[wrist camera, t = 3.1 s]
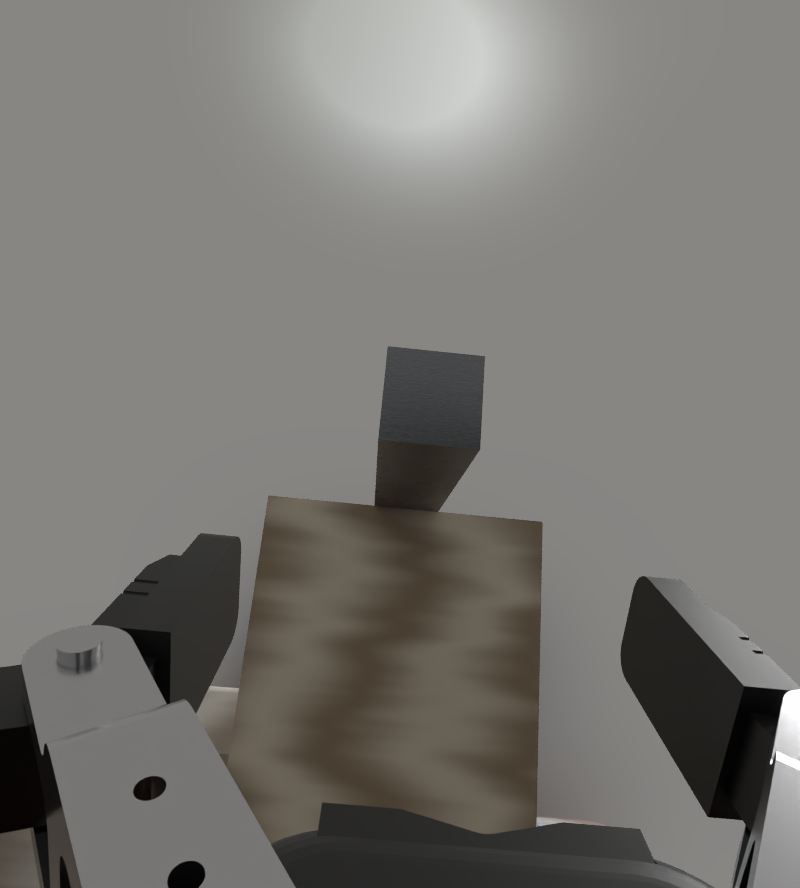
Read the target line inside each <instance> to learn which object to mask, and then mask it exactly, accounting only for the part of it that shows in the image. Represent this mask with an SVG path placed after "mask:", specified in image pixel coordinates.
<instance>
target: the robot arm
mask: <svg viewBox="0 0 800 888" xmlns="http://www.w3.org/2000/svg"><path fill="white" fill-rule="evenodd" d="M240 562H241V542H240V539H239V537H235V536H225V535H213V534H204V533H201V534H200V535H198V537H197V538H196V539H195V540H194V541H193V542H192V544H191V545H190V546H189V547H188V548H187V550H186V551H185V552H184V553H183V554H182V555H181V556H177V555H168V556H166V557H164V558H162V559H160V560H158V561H156V562H154V563H152V564H149V565H148V566H147V567H146V568H145V569H144V570H143V571H142V572H141V573H140V574H139V575H138V576H137V577H136V578H135V580H134V582H131V583H130V584H129V586H128V587H127V588H126V589H125V590H124V592H123V594H120V595H119V596H118V597H117V598H116V599H115V600H114V601H113V603H112V604H111V605H110V606H109V607H108V608H107V609H106V610H105V611H104V612H103V613H102V614H101V615H100V616H99V617H98V618H97V619H96V621H95V622H94V623H93V624H92V625H87V626H79V627H73V628H69V629H65V630H61V631H59V632H56V633H53V634H51V635H49V636H46V637H45V638H43V639H41V640H39V641H38V642H36V643H35V644H34V645H33V646H31V647H30V648H29V649H28V650H27V651H26V653H25V654H24V656H23V658H22V664H21V665H16V666H9V667H1V668H0V834H1V833H7V832H12V831H17V830H23V829H28V828H30V829H31V839H32V844H33V850H34V856H35V862H36V867H37V873H38V879H39V885H40V888H714V887H712V886H711V885H709V884H707V883H706V882H704V881H702V880H700V879H698V878H696V877H694V876H693V875H690V874H689V873H686V872H685V871H683V870H680V869H678V868H675V867H673V866H671V865H668V864H666V863H663V862H661V861H657V860H654V859H653V857H652V855H651V852H650V850H649V848H648V846H647V844H646V841H645V839H644V837H643V835H642V833H641V831H640V829H632V828H621V827H609V826H597V825H585V824H573V823H557V824H551V825H545V826H538V827H532V828H526V829H520V830H513V831H507V832H501V833H495V834H482V833H477V832H474V831H471V830H467V829H464V828H461V827H458V826H454V825H451V824H448V823H445V822H442V821H438V820H435V819H432V818H429V817H425V816H422V815H419V814H416V813H412V812H409V811H406V810H403V809H395V808H384V807H372V806H360V805H348V804H336V803H324V802H322V807H321V813H320V820H319V826H318V830H315V831H310V832H304V833H300V834H297V835H293V836H290V837H286V838H283V839H281V840H278V841H276V842H273V843H271V844H270V842H269V840H268V839H267V837H266V835H265V833H264V832H263V830H262V828H261V826H260V825H259V823H258V821H257V820H256V818H255V816H254V814H253V813H252V811H251V809H250V807H249V806H248V804H247V802H246V800H245V799H244V797H243V795H242V793H241V792H240V790H239V788H238V786H237V785H236V783H235V781H234V779H233V778H232V776H231V774H230V773H229V771H228V769H227V767H226V766H225V764H224V762H223V760H222V759H221V757H220V755H219V753H218V752H217V750H216V748H215V746H214V745H213V743H212V741H211V739H210V738H209V736H208V734H207V732H206V731H205V729H204V727H203V725H202V724H201V722H200V720H199V719H198V717H197V715H196V713H197V711H198V709H199V707H200V705H201V703H202V701H203V699H204V697H205V695H206V693H207V691H208V689H209V687H210V684H211V683H212V680H213V678H214V676H215V674H216V672H217V670H218V668H219V666H220V664H221V662H222V660H223V658H224V656H225V654H226V652H227V650H228V648H229V645H230V644H231V641H232V639H233V636H234V633H235V629H236V623H237V618H238V608H239V585H240V583H239V582H240ZM621 666H622V671H623V674H624V677H625V679H626V681H627V682H628V684H629V686H630V687H631V689H632V691H633V692H634V694H635V696H636V697H637V699H638V701H639V702H640V704H641V706H642V707H643V709H644V711H645V713H646V714H647V716H648V717H649V719H650V721H651V723H652V724H653V726H654V728H655V729H656V731H657V732H658V734H659V736H660V738H661V739H662V741H663V743H664V744H665V746H666V748H667V749H668V751H669V753H670V754H671V756H672V758H673V759H674V761H675V763H676V764H677V766H678V768H679V769H680V771H681V773H682V774H683V776H684V778H685V779H686V781H687V783H688V784H689V786H690V787H691V789H692V791H693V793H694V795H695V796H696V798H697V800H698V801H699V803H700V805H701V806H702V808H703V810H704V811H705V813H706V815H707V816H708V817H713V818H725V819H736V820H743V821H744V823H745V824H746V825H745V828H744V831H743V835H742V838H741V842H740V845H739V849H738V854H737V859H736V863H735V868H734V872H733V877H732V881H731V886H730V888H800V686H799V685H797V684H796V683H795V682H794V681H793V680H792V679H791V678H790V677H789V676H788V675H787V674H786V673H785V672H784V671H783V670H782V669H781V668H780V667H779V666H778V665H777V664H776V663H775V662H774V661H773V660H771V658H770V657H768V656H767V655H765V654H763V651H762V650H761V649H760V648H759V647H758V646H757V645H756V644H755V643H754V642H753V641H749V637H748V636H747V635H746V634H745V633H743V631H741V629H739V628H738V627H737V626H736V625H735V624H734V623H733V622H732V621H731V620H729V619H727V618H726V617H724V616H722V615H721V614H719V613H717V612H716V611H714V610H712V609H710V608H709V607H708V606H707V605H706V604H705V603H704V602H703V601H702V600H701V599H700V598H699V597H698V596H697V595H696V594H695V593H694V592H693V591H692V590H691V589H690V588H689V587H688V586H687V585H686V584H685V583H684V582H682V581H681V580H676V579H666V578H654V577H645V576H642V577H640V578H639V579H638V580H637V582H636V584H635V586H634V590H633V594H632V599H631V603H630V608H629V613H628V617H627V622H626V627H625V631H624V636H623V640H622V645H621Z"/></svg>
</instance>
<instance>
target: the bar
mask: <svg viewBox="0 0 800 888" xmlns="http://www.w3.org/2000/svg"><path fill="white" fill-rule="evenodd" d="M484 361H485V357H484V356H476V355H466V354H456V353H447V352H437V351H427V350H418V349H407V348H398V347H388V351H387V360H386V370H385V381H384V390H383V400H382V409H381V419H380V429H379V438H378V456H377V472H376V473H377V475H376V491H375V506H381V507H392V508H402V509H412V510H423V511H433V512H438V511H439V510H440V508H441V506H442V505H443V504H444V502H445V500H446V499H447V498H448V496H449V495H450V493H451V492H452V490H453V489H454V487H455V486H456V484H457V483H458V481H459V480H460V478H461V477H462V475H463V474H464V473H465V471H466V470H467V468H468V467H469V465H470V464H471V462H472V461H473V459H474V458H475V456H476V455H477V453H478V452H479V450H480V438H481V420H482V401H483V382H484V381H483V380H484Z"/></svg>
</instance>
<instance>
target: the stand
mask: <svg viewBox="0 0 800 888" xmlns="http://www.w3.org/2000/svg"><path fill="white" fill-rule="evenodd" d="M541 569H542V522H537V521H527V520H515V519H505V518H496V517H484V516H475V515H464V514H454V513H443V512H433V511H423V510H412V509H402V508H392V507H381V506H371V505H360V504H350V503H339V502H328V501H319V500H309V499H298V498H288V497H277V496H268V502H267V509H266V515H265V522H264V529H263V535H262V541H261V548H260V555H259V561H258V567H257V575H256V580H255V587H254V594H253V600H252V607H251V613H250V620H249V626H248V633H247V639H246V646H245V652H244V659H243V665H242V672H241V679H240V685H239V689H238V688H227V687H215V686H210V687H209V689H208V691H207V693H206V695H205V697H204V699H203V701H202V703H201V705H200V707H199V709H198V711H197V713H196V715H197V717H198V719H199V720H200V722H201V724H202V725H203V727H204V729H205V731H206V732H207V734H208V736H209V738H210V739H211V741H212V743H213V745H214V746H215V748H216V750H217V752H218V753H219V755H220V757H221V759H222V760H223V762H224V764H225V766H226V767H227V769H228V771H229V773H230V774H231V776H232V778H233V779H234V781H235V783H236V785H237V786H238V788H239V790H240V792H241V793H242V795H243V797H244V799H245V800H246V802H247V804H248V806H249V807H250V809H251V811H252V813H253V814H254V816H255V818H256V820H257V821H258V823H259V825H260V826H261V828H262V830H263V832H264V833H265V835H266V837H267V839H268V840H269V842H270V844H271V843H273V842H276V841H278V840H281V839H283V838H286V837H290V836H293V835H297V834H300V833H304V832H310V831H315V830H318V826H319V820H320V813H321V807H322V802H324V803H336V804H348V805H360V806H372V807H384V808H395V809H403V810H406V811H409V812H412V813H416V814H419V815H422V816H425V817H429V818H432V819H435V820H438V821H442V822H445V823H448V824H451V825H454V826H458V827H461V828H464V829H467V830H471V831H474V832H477V833H482V834H495V833H501V832H507V831H513V830H520V829H526V828H532V827H536V818H537V768H538V767H537V766H538V717H539V668H540V618H541V571H542V570H541ZM0 888H40V885H39V879H38V873H37V867H36V862H35V856H34V850H33V844H32V839H31V829H30V828H28V829H23V830H17V831H12V832H7V833H1V834H0Z"/></svg>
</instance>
